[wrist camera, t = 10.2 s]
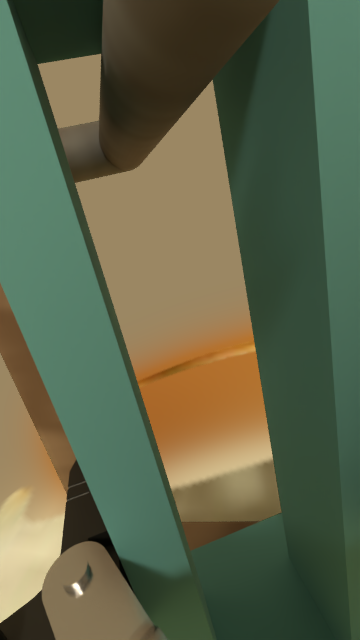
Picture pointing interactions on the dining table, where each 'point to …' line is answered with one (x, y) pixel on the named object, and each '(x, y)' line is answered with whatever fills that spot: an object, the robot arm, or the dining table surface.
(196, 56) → the hook stand
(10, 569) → the dining table surface
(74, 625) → the robot arm
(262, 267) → the teal loop
